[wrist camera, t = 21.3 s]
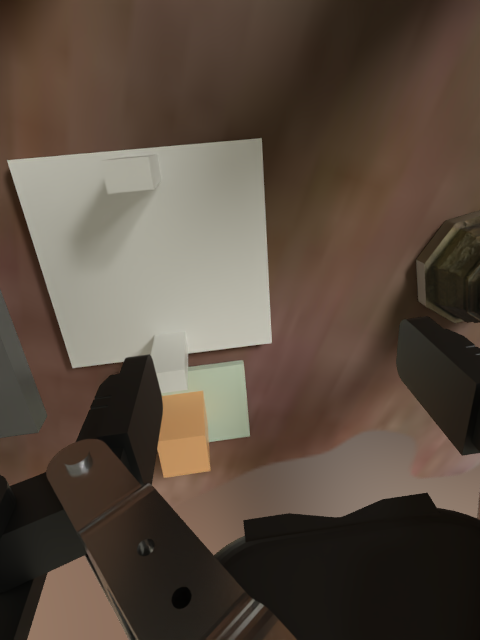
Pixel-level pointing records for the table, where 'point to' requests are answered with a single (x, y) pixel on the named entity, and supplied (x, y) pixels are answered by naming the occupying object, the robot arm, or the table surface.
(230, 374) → the mat
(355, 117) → the table surface
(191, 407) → the orange block
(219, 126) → the table surface
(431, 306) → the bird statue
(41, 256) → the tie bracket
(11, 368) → the strap
